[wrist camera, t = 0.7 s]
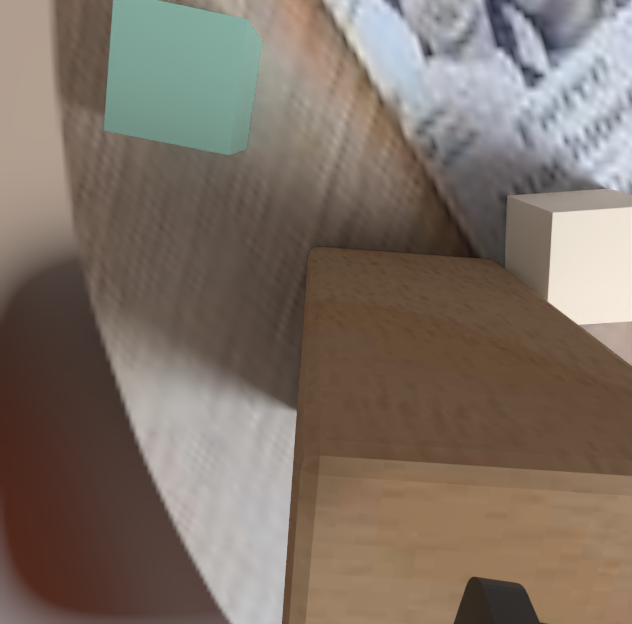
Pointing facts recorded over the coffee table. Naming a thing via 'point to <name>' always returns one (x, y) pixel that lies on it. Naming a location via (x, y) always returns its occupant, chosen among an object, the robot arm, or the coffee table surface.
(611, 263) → the cream block
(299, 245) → the coffee table surface
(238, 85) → the teal block
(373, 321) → the wooden block
